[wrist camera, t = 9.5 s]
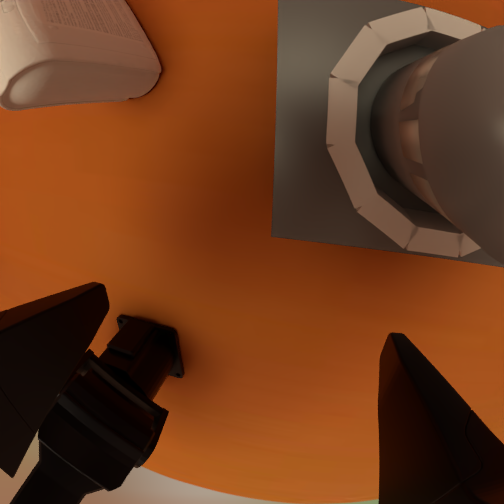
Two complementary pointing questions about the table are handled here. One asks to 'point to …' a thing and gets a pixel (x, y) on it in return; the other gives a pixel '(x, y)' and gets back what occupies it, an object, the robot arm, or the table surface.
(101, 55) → the white rounded device
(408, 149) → the grey rounded block
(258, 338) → the table surface
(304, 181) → the gray ring-topped block
